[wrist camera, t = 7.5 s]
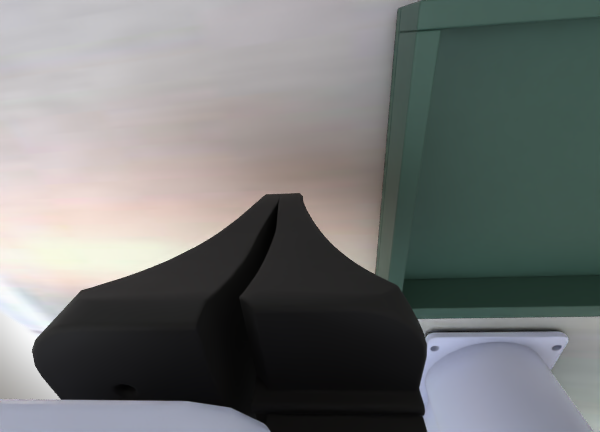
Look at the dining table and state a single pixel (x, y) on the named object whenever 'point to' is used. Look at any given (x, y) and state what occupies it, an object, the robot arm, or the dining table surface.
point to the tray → (494, 159)
